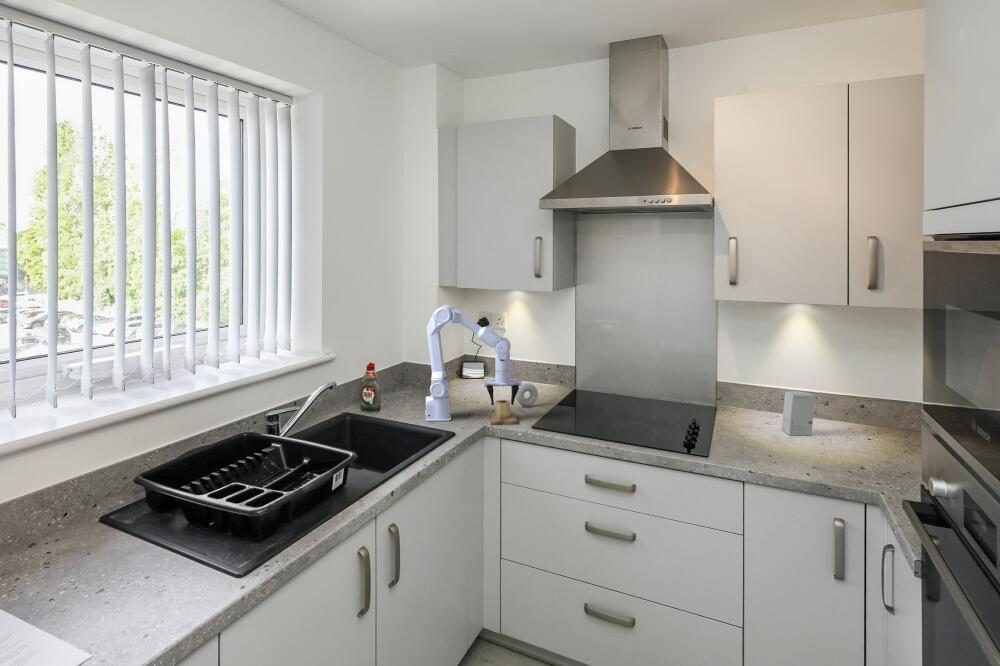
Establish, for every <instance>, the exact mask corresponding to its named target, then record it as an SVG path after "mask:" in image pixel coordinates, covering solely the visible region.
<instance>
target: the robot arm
mask: <svg viewBox="0 0 1000 666" xmlns="http://www.w3.org/2000/svg"><path fill="white" fill-rule="evenodd" d="M450 321H451V322H450ZM447 323H451V324H460V325H462V326H463V327H465V328H467V329H468V330H469V331H471V332H473V333H474V334H476V335H477V338H478V340H479V341H481V343H483V344H485V345H487V347H490V348H491V349H494V352H495V359H494V360H495V361H494V365H495V366H494V367H495V368H494V369H495V370H494V375H495V376H494V379H492V380H491V379H490V380H483V387H484V388H486V389H487V392H488V395H489V397H490V398H489V399H490V402H491V406H494V405H495V403H494V387H511V399H510V405H511V406H514V403H515V399H516V394H517V392H518V390H519V387H520V386H522V385H523V383H522V382H523V381H522V380H521V379H520V380H515V379H511V358H510V357H511V352H510V351H511V347H512V345H511V342H510V340H509V339H508V338H507V337H504V336H503V335H502V334H498V333H497V332H495V331H494V330H493V328H492V327H491V326H490V327H488V326H483V327H482V326H481V325H479V324H478V323H477V322H475V321H474V320H472V318H470V317H469V316H468V315H466V314H465V313H463V312H461V310H459V309H456V308H455V307H453V306H452V305H450V304H445V305H444V304H443V305H442V306H441V307H439V308H437V309H435V311H434V312H433V313H432V315H431V318H430V319H429V322H428V324H427V325H426V334H427V343H428V350H429V358H430V367H431V378H430V382H431V383H430V387H429V392H430V396H428V395H427V396H425V411H424V412H425V413H424V414H425V422H438V421H439V422H441V421H442V422H444V421H449V420H450V421H451V420H452V417H451V416H452V414H451V413H450V411H451V410H450V408H451V407H450V403H451V402H450V401H451V400H450V393H449V392H448V390H449V389H450V387H451V384H450V380H449V379H448V377H447V373H446V369H445V363H444V361H445V360H444V352H443V347H442V346H443V345H442V337H441V330H442V329H443V328H444V327H445V325H446V324H447Z"/></svg>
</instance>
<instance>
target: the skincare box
mask: <svg viewBox="0 0 1000 666" xmlns="http://www.w3.org/2000/svg"><path fill="white" fill-rule="evenodd" d="M815 402H816V394H813V393H810V392H806V391H789V390H788V391H784V402H783V412H782V420H781V421H782V422H781V431H782V432H784V433H785V434H787V435H788V436H812V433H813V431H812V430H813V424H814V412H815V404H816V403H815Z"/></svg>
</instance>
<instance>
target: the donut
mask: <svg viewBox="0 0 1000 666" xmlns="http://www.w3.org/2000/svg"><path fill="white" fill-rule="evenodd" d="M538 391H539V390H538V389H537V387H536V386H535V385H534V384H532V383H527V382H526V383H522V386H519V390H518V392H517V394H516V397H515V399H516V401H517V403H518V404H519V405H520V406H522V407H531V406H533V405H535V403H536V402H537V400H538V398H539V392H538ZM526 392H528V393H529V397H528V398H525V393H526Z"/></svg>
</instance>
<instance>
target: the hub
mask: <svg viewBox="0 0 1000 666" xmlns="http://www.w3.org/2000/svg"><path fill="white" fill-rule="evenodd" d="M510 408H511V401H510V400H506V399H499V400H495V412H496V418H499V419H507V418H509V417H510V412H511V411H510V410H511V409H510Z"/></svg>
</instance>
